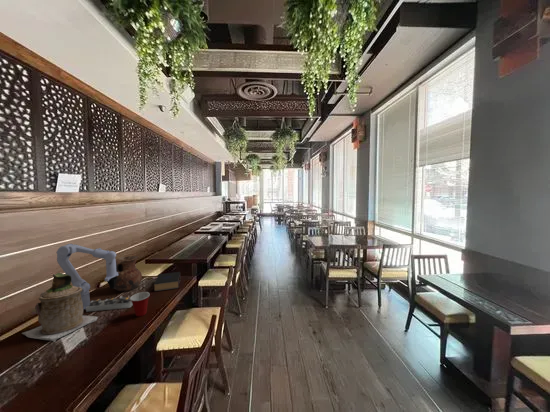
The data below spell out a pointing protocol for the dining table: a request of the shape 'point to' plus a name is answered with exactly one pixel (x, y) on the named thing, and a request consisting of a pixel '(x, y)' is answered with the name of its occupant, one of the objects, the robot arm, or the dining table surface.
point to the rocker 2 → (109, 300)
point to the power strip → (109, 305)
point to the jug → (127, 274)
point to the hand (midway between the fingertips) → (112, 288)
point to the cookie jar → (59, 310)
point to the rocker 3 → (123, 298)
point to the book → (167, 281)
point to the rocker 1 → (95, 301)
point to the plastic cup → (140, 303)
